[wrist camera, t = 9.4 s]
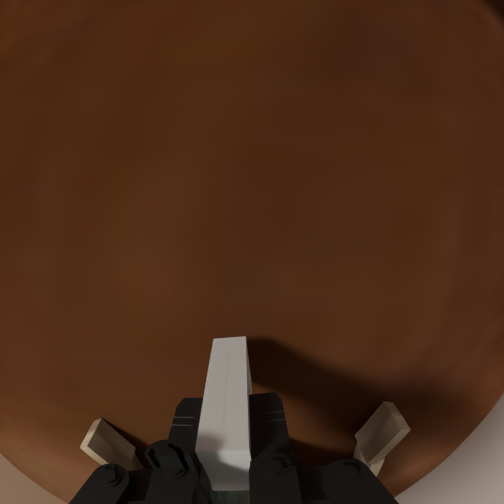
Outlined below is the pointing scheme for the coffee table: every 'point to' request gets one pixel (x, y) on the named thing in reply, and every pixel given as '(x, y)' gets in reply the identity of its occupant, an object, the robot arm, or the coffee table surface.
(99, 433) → the wooden u-frame
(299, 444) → the coffee table surface
